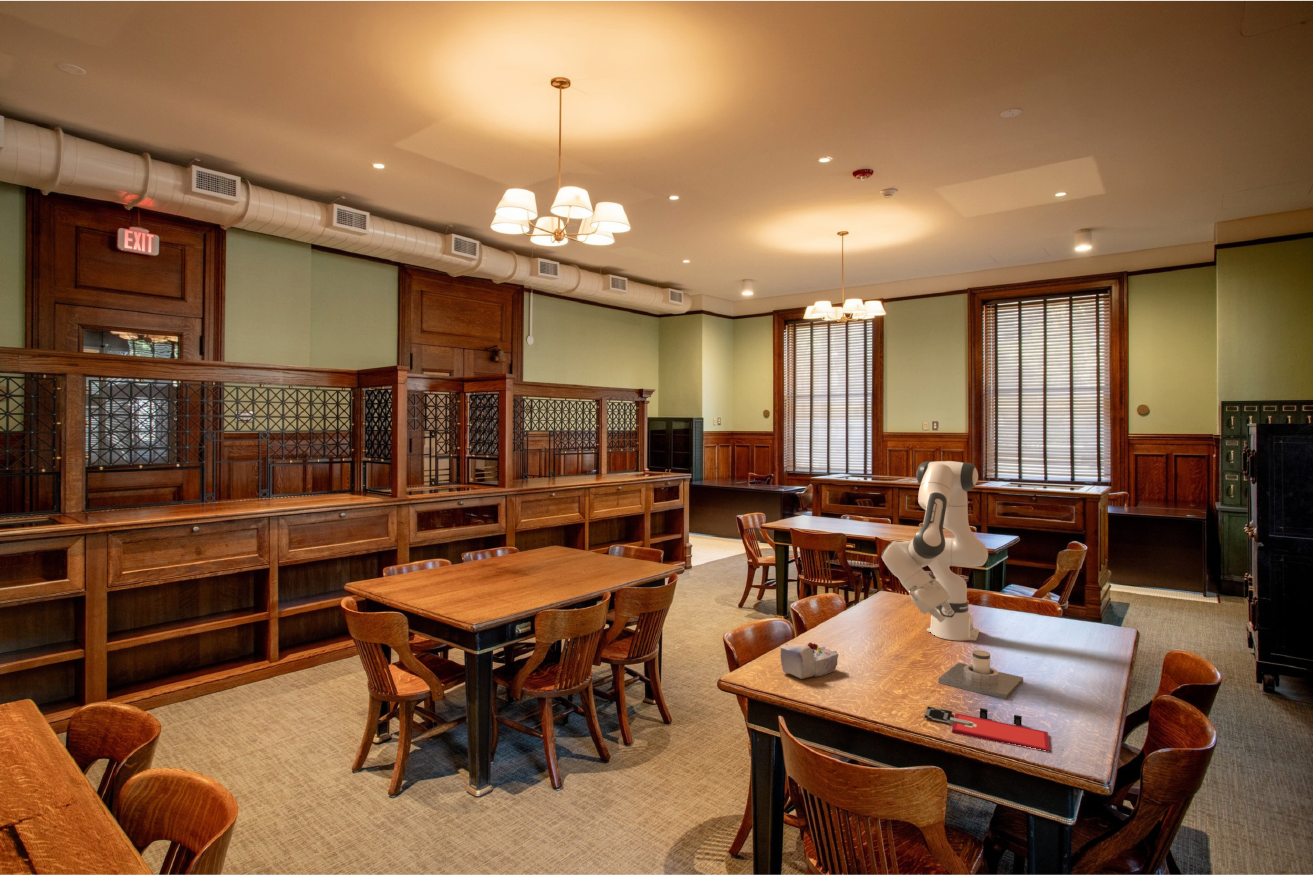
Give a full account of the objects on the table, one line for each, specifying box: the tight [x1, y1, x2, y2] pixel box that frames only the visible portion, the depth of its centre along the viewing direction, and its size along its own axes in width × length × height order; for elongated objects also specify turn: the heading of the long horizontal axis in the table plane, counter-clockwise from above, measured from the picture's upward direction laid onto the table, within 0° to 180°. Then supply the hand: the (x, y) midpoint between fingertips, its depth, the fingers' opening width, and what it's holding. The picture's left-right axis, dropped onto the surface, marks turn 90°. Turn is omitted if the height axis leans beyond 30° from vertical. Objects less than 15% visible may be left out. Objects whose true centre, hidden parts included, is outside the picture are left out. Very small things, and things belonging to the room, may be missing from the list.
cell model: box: [780, 642, 839, 680], centre depth 221 cm, size 13×11×20 cm
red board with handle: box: [924, 706, 1051, 753], centre depth 179 cm, size 30×3×15 cm
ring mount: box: [938, 662, 1024, 701], centre depth 213 cm, size 20×20×4 cm
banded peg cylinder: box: [972, 649, 991, 674], centre depth 213 cm, size 5×5×8 cm
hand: (947, 617), depth 220 cm, fingers open, 8 cm apart
